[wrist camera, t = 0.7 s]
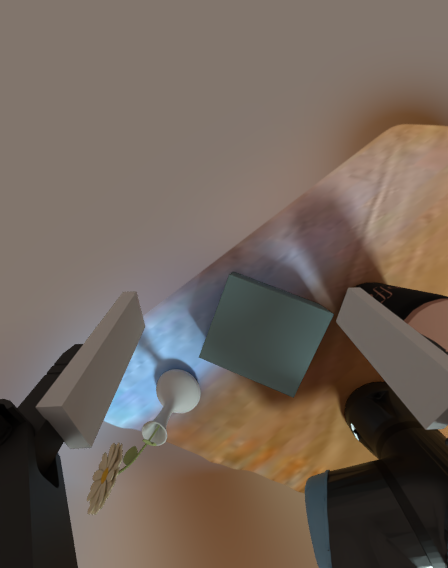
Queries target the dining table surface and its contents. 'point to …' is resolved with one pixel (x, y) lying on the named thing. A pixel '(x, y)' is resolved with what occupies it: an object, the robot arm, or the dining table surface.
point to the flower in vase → (146, 432)
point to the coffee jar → (415, 309)
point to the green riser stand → (265, 333)
